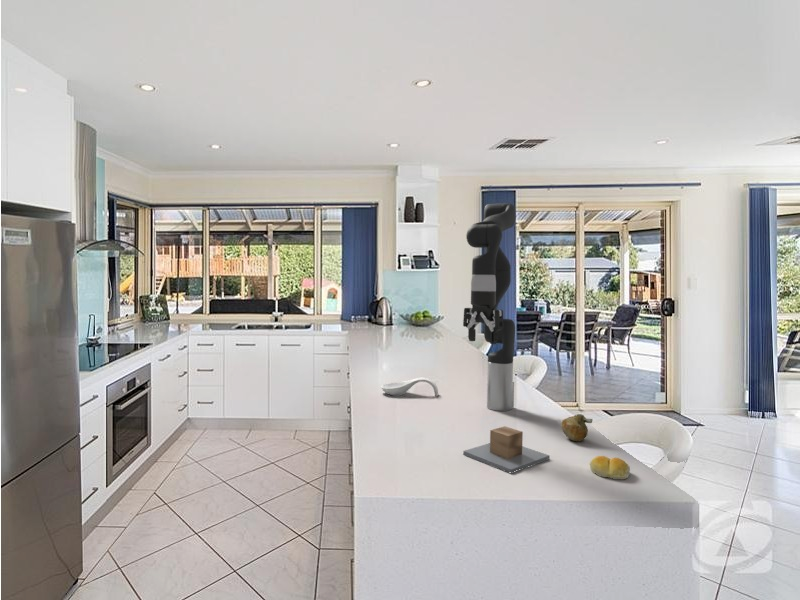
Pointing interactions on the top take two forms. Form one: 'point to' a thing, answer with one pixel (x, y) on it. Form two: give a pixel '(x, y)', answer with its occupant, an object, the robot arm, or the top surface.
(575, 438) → the onion
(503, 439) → the walnut block
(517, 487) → the top surface
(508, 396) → the robot arm
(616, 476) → the bread roll
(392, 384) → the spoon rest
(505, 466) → the slate plate
